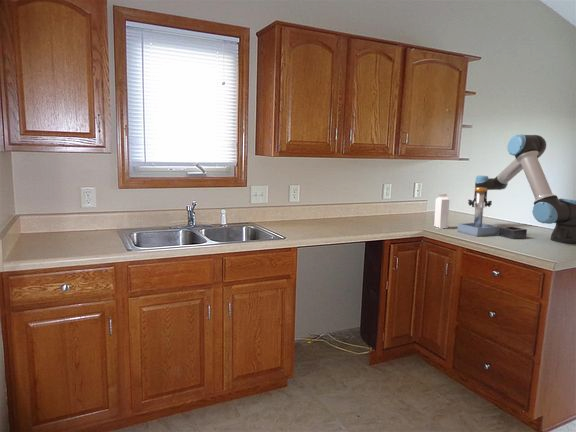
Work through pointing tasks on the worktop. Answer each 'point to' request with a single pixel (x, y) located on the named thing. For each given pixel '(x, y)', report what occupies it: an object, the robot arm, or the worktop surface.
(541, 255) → the worktop surface
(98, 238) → the worktop surface
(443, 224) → the milk
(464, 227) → the tray
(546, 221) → the robot arm
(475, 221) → the pin
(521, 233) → the hitch block
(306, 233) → the worktop surface
